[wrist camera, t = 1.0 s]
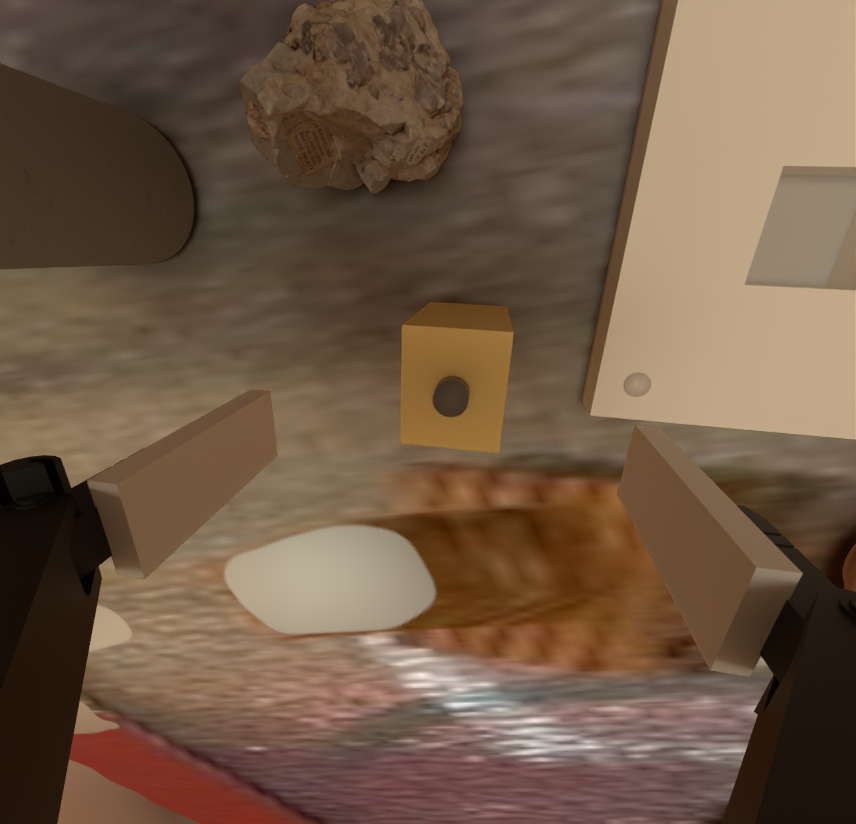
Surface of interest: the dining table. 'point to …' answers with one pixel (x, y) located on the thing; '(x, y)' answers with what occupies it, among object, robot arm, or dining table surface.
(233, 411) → the robot arm
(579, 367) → the dining table surface
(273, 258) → the dining table surface
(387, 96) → the rock
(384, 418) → the dining table surface
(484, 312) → the plug
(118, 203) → the water bottle
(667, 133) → the socket plate
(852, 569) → the bowl
